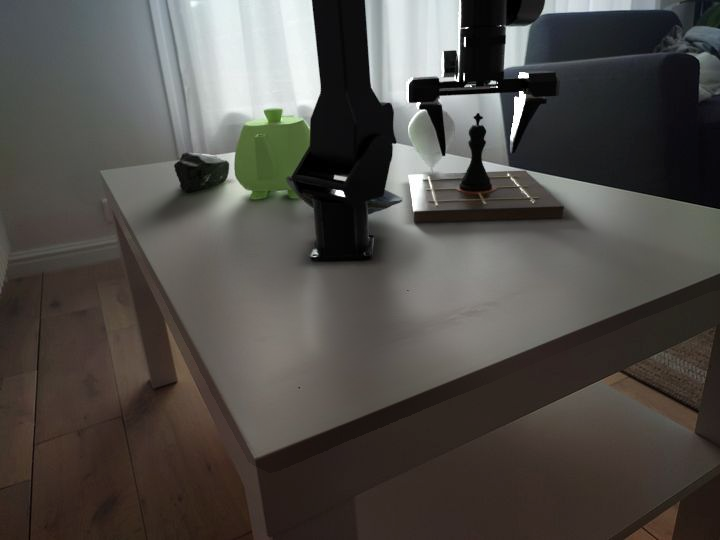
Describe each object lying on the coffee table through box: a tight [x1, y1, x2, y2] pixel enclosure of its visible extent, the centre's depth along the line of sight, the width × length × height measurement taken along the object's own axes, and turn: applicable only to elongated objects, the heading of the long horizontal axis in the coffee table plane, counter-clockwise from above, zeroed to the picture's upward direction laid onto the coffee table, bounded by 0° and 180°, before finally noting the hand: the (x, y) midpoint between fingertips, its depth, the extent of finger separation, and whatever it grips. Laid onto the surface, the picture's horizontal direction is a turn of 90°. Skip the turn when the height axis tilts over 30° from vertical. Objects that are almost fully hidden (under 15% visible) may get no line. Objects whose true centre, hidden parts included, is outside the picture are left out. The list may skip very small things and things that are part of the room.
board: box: [408, 170, 565, 224], centre depth 74 cm, size 20×18×2 cm
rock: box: [173, 152, 230, 194], centre depth 89 cm, size 10×9×6 cm
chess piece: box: [459, 112, 492, 191], centre depth 71 cm, size 4×4×10 cm
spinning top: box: [407, 109, 456, 174], centre depth 88 cm, size 8×8×12 cm
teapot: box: [233, 107, 310, 200], centre depth 81 cm, size 20×13×13 cm
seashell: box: [286, 176, 404, 215], centre depth 68 cm, size 15×12×5 cm
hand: (477, 154), depth 72 cm, fingers open, 9 cm apart
